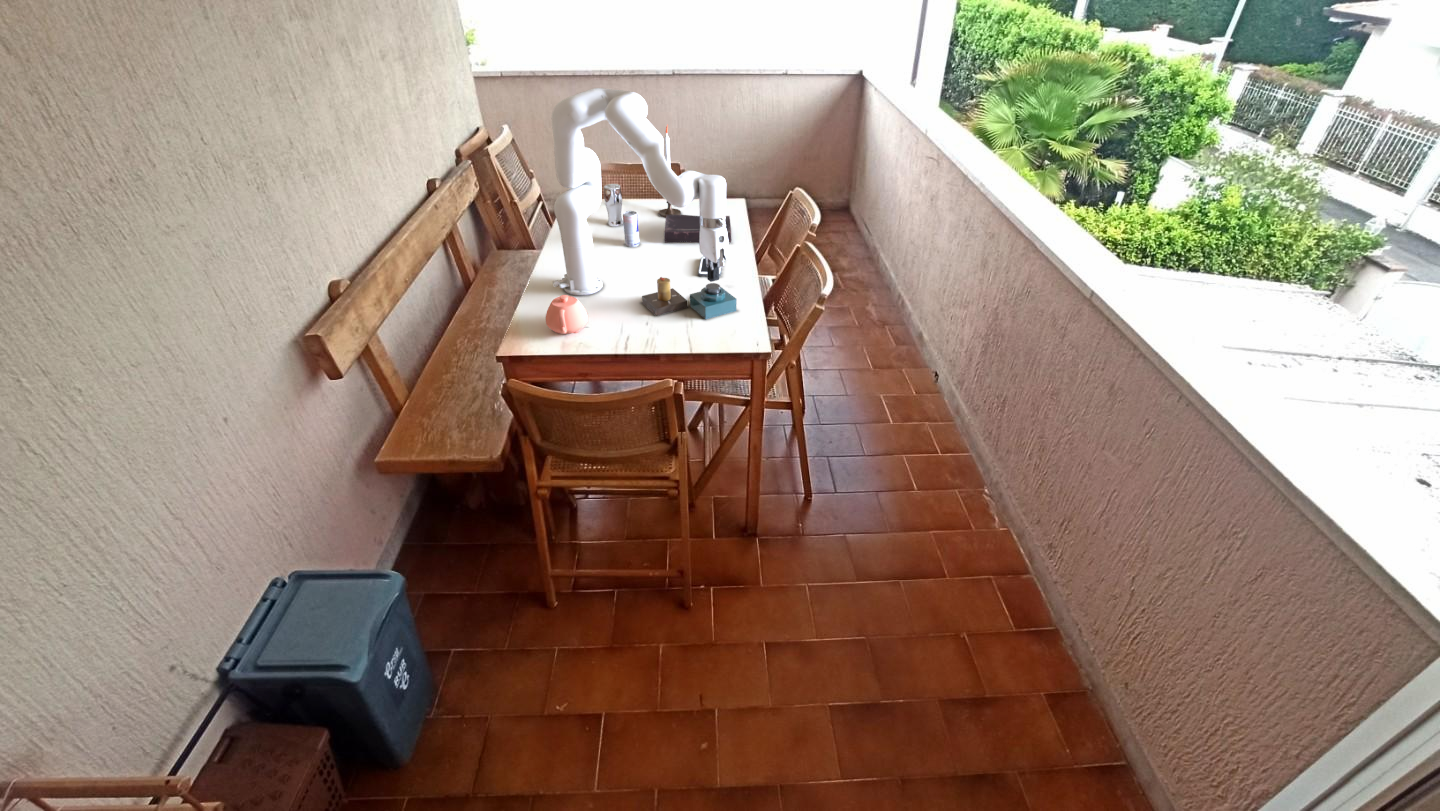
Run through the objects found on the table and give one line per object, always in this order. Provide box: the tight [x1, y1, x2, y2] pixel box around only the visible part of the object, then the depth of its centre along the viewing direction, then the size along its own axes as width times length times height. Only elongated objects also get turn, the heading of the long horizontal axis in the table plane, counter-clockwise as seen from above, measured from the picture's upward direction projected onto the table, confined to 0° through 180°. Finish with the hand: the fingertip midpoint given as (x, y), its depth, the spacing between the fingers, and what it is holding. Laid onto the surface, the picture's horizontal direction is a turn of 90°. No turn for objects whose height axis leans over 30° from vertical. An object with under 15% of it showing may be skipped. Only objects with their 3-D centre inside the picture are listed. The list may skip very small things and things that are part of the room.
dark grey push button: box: [705, 282, 721, 295], centre depth 196 cm, size 4×4×2 cm
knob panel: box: [641, 288, 689, 317], centre depth 201 cm, size 11×10×3 cm
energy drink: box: [622, 210, 641, 248], centre depth 238 cm, size 5×5×12 cm
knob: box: [656, 276, 672, 301], centre depth 199 cm, size 4×4×6 cm
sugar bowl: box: [545, 294, 589, 335], centre depth 187 cm, size 12×14×10 cm
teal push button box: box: [689, 286, 737, 320], centre depth 199 cm, size 11×10×6 cm
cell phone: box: [698, 256, 723, 277], centre depth 224 cm, size 8×15×1 cm, turn 177°
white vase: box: [603, 183, 624, 228], centre depth 254 cm, size 7×7×15 cm
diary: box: [663, 214, 732, 244], centre depth 248 cm, size 19×25×5 cm
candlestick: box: [658, 124, 682, 219], centre depth 257 cm, size 11×11×35 cm
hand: (713, 279), depth 194 cm, fingers closed
